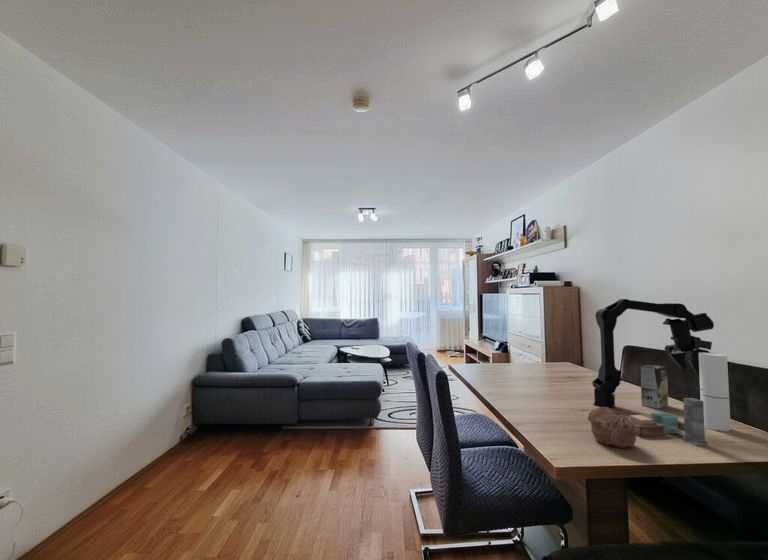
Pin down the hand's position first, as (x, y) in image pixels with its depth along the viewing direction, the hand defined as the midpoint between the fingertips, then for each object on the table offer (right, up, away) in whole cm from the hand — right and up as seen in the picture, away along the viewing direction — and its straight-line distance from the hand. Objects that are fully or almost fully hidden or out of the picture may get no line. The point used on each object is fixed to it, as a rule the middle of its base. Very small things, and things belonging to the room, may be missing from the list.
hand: (691, 372), depth 134 cm
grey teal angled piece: (-28, -13, -26) cm, 40 cm away
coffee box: (-10, -15, +6) cm, 19 cm away
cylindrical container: (-8, -14, -18) cm, 24 cm away
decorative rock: (-53, -13, -31) cm, 63 cm away
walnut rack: (-32, -13, -22) cm, 41 cm away
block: (-37, -13, -22) cm, 45 cm away
